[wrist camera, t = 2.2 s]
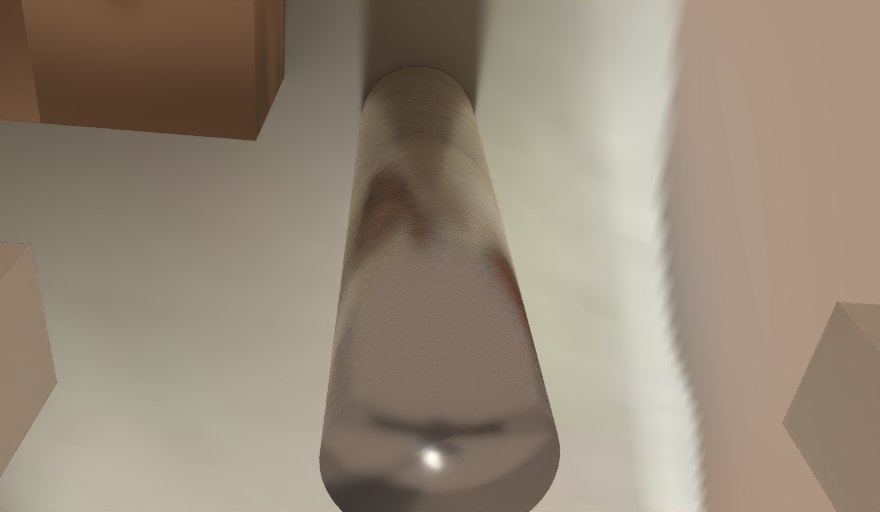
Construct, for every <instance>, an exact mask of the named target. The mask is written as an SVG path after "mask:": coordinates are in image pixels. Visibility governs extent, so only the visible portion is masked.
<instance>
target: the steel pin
mask: <svg viewBox="0 0 880 512" xmlns="http://www.w3.org/2000/svg"><path fill="white" fill-rule="evenodd" d="M559 458H560V444H559V439H558V434H557V430H556V426H555V422H554V419H553V415H552V411H551V407H550V403H549V399H548V396H547V392H546V388H545V384H544V380H543V376H542V373H541V369H540V365H539V361H538V357H537V353H536V350H535V346H534V342H533V338H532V334H531V330H530V327H529V323H528V319H527V315H526V311H525V307H524V304H523V300H522V296H521V292H520V288H519V284H518V281H517V277H516V273H515V269H514V265H513V261H512V258H511V254H510V250H509V246H508V242H507V238H506V235H505V231H504V227H503V223H502V219H501V215H500V212H499V208H498V204H497V200H496V196H495V192H494V189H493V185H492V181H491V177H490V173H489V169H488V166H487V162H486V158H485V154H484V150H483V146H482V143H481V139H480V135H479V131H478V127H477V123H476V119H475V116H474V112H473V108H472V105H471V102H470V99H469V97H468V95H467V93H466V92H465V90H464V89H463V88H462V86H461V85H460V84H459V83H458V82H457V81H456V80H454V79H453V78H452V77H451V76H449V75H447V74H446V73H444V72H441V71H439V70H436V69H433V68H429V67H420V66H414V67H407V68H402V69H399V70H396V71H394V72H392V73H390V74H388V75H386V76H385V77H384V78H382V79H381V80H380V81H379V82H378V83H377V84H375V86H374V87H373V88H372V89H371V91H370V92H369V94H368V96H367V98H366V100H365V102H364V105H363V109H362V116H361V124H360V132H359V140H358V148H357V156H356V164H355V172H354V181H353V189H352V197H351V205H350V213H349V221H348V229H347V237H346V245H345V254H344V262H343V270H342V278H341V286H340V294H339V302H338V310H337V319H336V327H335V335H334V343H333V351H332V359H331V367H330V375H329V383H328V392H327V400H326V408H325V416H324V424H323V432H322V440H321V448H320V457H319V460H320V472H321V476H322V480H323V483H324V485H325V487H326V490H327V492H328V493H329V495H330V497H331V498H332V500H333V501H334V502H335V504H336V505H337V506H338V507H339V508H340V509H341V511H343V512H529V511H530V510H532V509H533V508H534V507H535V506H536V505H537V504H538V503H539V501H540V500H541V499H542V498H543V497H544V495H545V494H546V492H547V491H548V490H549V488H550V486H551V484H552V482H553V480H554V478H555V475H556V472H557V469H558V464H559Z"/></svg>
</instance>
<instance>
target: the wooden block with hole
mask: <svg viewBox="0 0 880 512" xmlns="http://www.w3.org/2000/svg"><path fill="white" fill-rule="evenodd" d="M283 78H284V0H0V120H12V121H24V122H36V123H48V124H61V125H73V126H85V127H97V128H109V129H121V130H133V131H145V132H157V133H169V134H181V135H193V136H205V137H217V138H230V139H242V140H254V141H256V139H257V137H258V135H259V132H260V130H261V128H262V126H263V123H264V121H265V119H266V117H267V114H268V112H269V110H270V107H271V105H272V103H273V101H274V98H275V96H276V94H277V92H278V89H279V87H280V85H281V83H282V80H283Z"/></svg>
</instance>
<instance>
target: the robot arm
mask: <svg viewBox="0 0 880 512" xmlns="http://www.w3.org/2000/svg"><path fill="white" fill-rule="evenodd" d="M56 384H57V380H56V375H55V369H54V364H53V359H52V353H51V348H50V343H49V338H48V332H47V327H46V322H45V316H44V311H43V306H42V300H41V295H40V290H39V285H38V279H37V274H36V269H35V263H34V258H33V253H32V248H31V244H17V243H3V242H0V477H1V475H2V473H3V472H4V470H5V468H6V467H7V465H8V463H9V462H10V460H11V458H12V457H13V455H14V453H15V452H16V450H17V449H18V447H19V445H20V444H21V442H22V440H23V439H24V437H25V435H26V434H27V432H28V430H29V429H30V427H31V425H32V424H33V422H34V420H35V419H36V417H37V415H38V414H39V412H40V410H41V409H42V407H43V405H44V404H45V402H46V400H47V399H48V397H49V395H50V394H51V392H52V390H53V389H54V387H55V385H56ZM783 425H784V426H785V428H786V430H787V431H788V433H789V435H790V436H791V438H792V439H793V441H794V443H795V444H796V446H797V448H798V449H799V451H800V452H801V454H802V456H803V457H804V459H805V460H806V462H807V464H808V466H809V467H810V469H811V470H812V472H813V474H814V475H815V477H816V479H817V480H818V482H819V483H820V485H821V486H822V488H823V490H824V491H825V493H826V495H827V496H828V498H829V500H830V501H831V503H832V505H833V506H834V508H835V509H836V510H837V512H880V305H875V304H862V303H847V302H837V303H836V305H835V307H834V309H833V312H832V314H831V316H830V318H829V321H828V323H827V325H826V327H825V330H824V332H823V334H822V336H821V339H820V341H819V343H818V345H817V347H816V349H815V352H814V354H813V356H812V358H811V361H810V363H809V365H808V367H807V370H806V372H805V374H804V376H803V378H802V381H801V383H800V385H799V387H798V389H797V392H796V394H795V396H794V398H793V400H792V403H791V405H790V407H789V409H788V412H787V414H786V416H785V418H784V420H783Z"/></svg>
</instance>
